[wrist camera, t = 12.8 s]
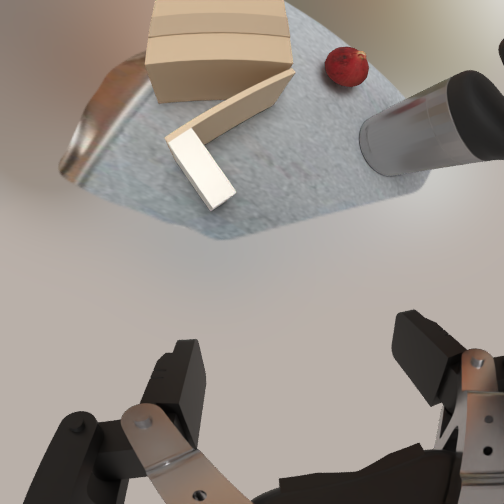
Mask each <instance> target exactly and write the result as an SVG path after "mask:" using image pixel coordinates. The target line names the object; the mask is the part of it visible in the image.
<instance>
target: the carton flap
mask: <svg viewBox="0 0 504 504" xmlns="http://www.w3.org/2000/svg"><path fill="white" fill-rule="evenodd" d="M294 74H295V71H294V70H293V69H292V68H291V69H289V70H286V71H284V72H282V73H280V74H277V75H275V76H273V77H271V78H269V79H267V80H264V81H262V82H260V83H258V84H256V85H254V86H252V87H250V88H248V89H246V90H244V91H242V92H240V93H238V94H237V95H235V96H233V97H231V98H229V99H227V100H225V101H224V102H222V103H220V104H218V105H216V106H215V107H213V108H211V109H209V110H208V111H206V112H204V113H203V114H201V115H199V116H198V117H196V118H194V119H193V120H191V121H189V122H188V123H186V124H185V125H183V126H181V127H180V128H178V129H177V130H175V131H174V132H172V133H171V134H169V135H168V136H166V137H165V140H166V142H167V144H168V147H169V149H170V151H171V153H172V155H173V157H174V159H175V161H176V162H177V164H178V165H179V167H180V168H181V169H182V171H183V172H184V174H185V175H186V177H187V178H188V180H189V181H190V183H191V184H192V185H193V187H194V188H195V190H196V191H197V193H198V194H199V196H200V197H201V198H202V200H203V201H204V203H205V204H206V206H207V207H208V208H209V210H210V211H212V210H214V209H215V208H217V207H218V206H219V205H221V204H222V203H224V202H225V201H227V200H228V199H229V198H231V197H232V196H233V195H234V194H235V193H237V192H236V191H235V189H234V188H233V186H232V185H231V183H230V182H229V180H228V179H227V178H226V176H225V175H224V173H223V172H222V170H221V169H220V168H219V166H218V165H217V163H216V162H215V160H214V159H213V158H212V156H211V155H210V153H209V152H208V150H207V149H206V148H205V146H204V145H205V144H207V143H208V142H210V141H212V140H213V139H215V138H216V137H218V136H220V135H221V134H223V133H225V132H226V131H228V130H230V129H231V128H233V127H235V126H236V125H238V124H240V123H242V122H243V121H245V120H247V119H249V118H250V117H252V116H254V115H256V114H258V113H259V112H261V111H263V110H265V109H267V108H269V107H271V106H272V105H274V104H275V102H276V101H277V99H278V98H279V96H280V95H281V93H282V92H283V90H284V89H285V87H286V86H287V84H288V83H289V81H290V80H291V78H292V77H293V76H294Z"/></svg>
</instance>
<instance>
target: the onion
mask: <svg viewBox="0 0 504 504" xmlns="http://www.w3.org/2000/svg"><path fill="white" fill-rule="evenodd" d="M325 69H326V73H327V74H328V76H329V77H330V79H332V80H333V81H334V82H335V83H337V84H339V85H341V86H347V87H353V86H357V85H359V84H361V83H362V82H363V81H364V80H365V79H366V78H367V75H368V70H369V66H368V62H367V60H366V54H365V53H364V52H363V51H358V50H357V49H355V48H351V47H339V48H336V49H335V50H333V51H332V52H330V53H329V55H328V56H327V59H326V61H325Z"/></svg>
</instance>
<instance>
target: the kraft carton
mask: <svg viewBox="0 0 504 504" xmlns="http://www.w3.org/2000/svg"><path fill="white" fill-rule="evenodd" d="M292 64H293V58H292V51H291V44H290V32H289V25H288V19H287V17H286V11H285V5H284V0H155V4H154V9H153V14H152V18H151V23H150V29H149V35H148V45H147V52H146V59H145V67H146V69H147V72H148V75H149V78H150V81H151V84H152V86H153V89H154V92H155V95H156V98H157V100H158V103H170V102H183V101H201V100H227V99H229V98H231V97H233V96H235V95H237V94H238V93H240V92H242V91H244V90H246V89H248V88H250V87H252V86H254V85H256V84H258V83H260V82H262V81H264V80H267V79H269V78H271V77H273V76H275V75H277V74H280V73H282V72H284V71H286V70H289V69H290V68H291V66H292Z"/></svg>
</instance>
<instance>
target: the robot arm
mask: <svg viewBox="0 0 504 504" xmlns="http://www.w3.org/2000/svg"><path fill="white" fill-rule="evenodd" d="M498 50H499V55H500V58H501V60H502V62H503V65H504V39H503V40H502V41H501V43H500V45H499V49H498ZM360 146H361V150H362V153H363V155H364V157H365V159H366V161H367V162H368V163H369V165H370V166H371V167H372V168H373V169H374V170H375V171H377V172H378V173H380V174H382V175H385V176H396V175H402V174H407V173H414V172H419V171H425V170H431V169H437V168H443V167H450V166H456V165H463V164H469V163H476V162H483V161H490V160H504V96H503V95H502V94H501V93H500V91H499V90H498V89H497V88H496V87H495V86H494V84H493V83H492V82H491V81H490V80H489V79H488V78H486V77H485V76H484V75H483V74H481V73H479V72H477V71H473V70H469V71H464V72H461V73H459V74H457V75H454V76H453V77H450V78H448V79H446V80H444V81H442V82H440V83H438V84H436V85H433V86H432V87H430V88H427V89H425V90H423V91H421V92H419V93H417V94H415V95H413V96H411V97H409V98H407V99H405V100H403V101H401V102H399V103H397V104H395V105H393V106H392V107H390V108H388V109H386V110H384V111H382V112H380V113H378V114H376V115H374V116H372V117H371V118H369V119H368V120H366V121H365V122H364V124H363V125H362V128H361V130H360ZM392 353H393V356H394V358H395V360H396V361H397V362H398V364H399V365H400V366H401V368H402V369H403V370H404V371H405V373H406V374H407V375H408V377H409V378H410V379H411V381H412V382H413V383H414V385H415V386H416V387H417V389H418V390H419V391H420V393H421V394H422V396H423V397H424V398H425V400H426V401H427V402H428V404H429V405H430V406H431V407H432V406H434V405H436V404H439V403H441V402H442V403H443V407H442V409H441V413H440V419H439V426H438V431H437V437H436V442H435V446H434V449H432V450H423V448H422V447H421V445H420V443H417V444H414V445H412V446H409V447H407V448H404V449H401V450H399V451H396V452H393V453H390V454H388V455H386V456H385V457H383V458H382V459H380V460H378V461H376V462H375V463H373V464H371V465H369V466H367V467H365V468H363V469H362V470H359V471H356V472H341V473H313V474H308V475H302V476H295V477H288V478H280V479H279V488H276V489H273V490H270V491H268V492H265V493H263V494H261V495H259V496H257V497H256V498H254V499H253V500H251V501H250V500H249V499H248V498H246V497H245V496H244V495H243V494H242V493H241V492H240V491H239V490H238V489H237V488H236V487H235V486H234V485H233V484H232V483H230V481H228V480H227V479H226V478H225V477H224V476H223V474H222V473H220V471H219V470H218V469H217V468H216V467H214V465H213V464H212V463H211V462H210V461H209V460H208V459H207V458H206V457H205V455H204V454H203V453H202V452H201V451H200V450H198V449H197V445H198V437H199V430H200V422H201V415H202V409H203V402H204V395H205V388H206V373H205V368H204V364H203V360H202V356H201V351H200V347H199V343H198V340H197V339H190V340H178V341H177V343H176V345H175V348H174V351H173V353H165V354H164V355H163V356H162V357H161V358H160V359H159V360H158V361H157V363H156V365H155V368H154V371H153V373H152V375H151V379H150V380H149V382H148V384H147V387H146V389H145V392H144V394H143V397H142V400H141V402H140V404H138V405H134V406H132V407H130V408H129V409H128V410H126V411H125V412H124V414H123V415H122V417H121V419H120V420H114V421H107V422H97V420H96V418H95V417H94V416H93V415H92V414H90V413H88V412H84V411H79V412H74V413H71V414H69V415H68V416H66V417H65V418H64V419H63V420H62V422H61V423H60V425H59V427H58V429H57V431H56V433H55V435H54V437H53V439H52V441H51V443H50V444H49V446H48V449H47V451H46V453H45V455H44V457H43V459H42V461H41V463H40V465H39V468H38V470H37V472H36V474H35V476H34V478H33V481H32V483H31V486H30V488H29V490H28V492H27V495H26V497H25V500H24V502H23V504H124V501H125V496H126V491H127V487H128V482H129V478H138V477H146V476H148V477H149V479H150V480H151V482H152V484H153V485H154V487H155V488H156V490H157V491H158V493H159V494H160V496H161V497H162V499H163V500H164V502H165V503H166V504H504V356H500V357H494V358H493V357H492V356H491V355H490V354H489V353H488V352H486V351H484V350H482V349H469V350H467V349H465V348H464V347H463V346H462V345H461V344H460V343H459V342H458V341H456V340H455V339H454V338H453V337H452V336H451V335H448V333H447V332H446V331H445V330H443V328H441V327H440V326H439V325H438V324H437V323H436V322H433V321H431V320H429V319H427V318H424V317H423V316H422V315H421V314H420V313H419V312H417V311H416V310H410V311H405V312H400V313H398V314H397V316H396V321H395V327H394V334H393V340H392Z"/></svg>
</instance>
